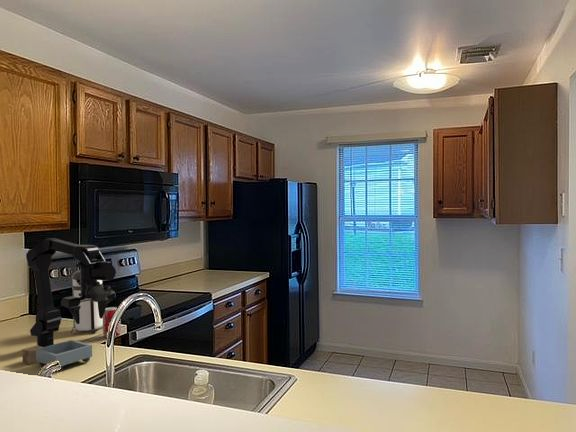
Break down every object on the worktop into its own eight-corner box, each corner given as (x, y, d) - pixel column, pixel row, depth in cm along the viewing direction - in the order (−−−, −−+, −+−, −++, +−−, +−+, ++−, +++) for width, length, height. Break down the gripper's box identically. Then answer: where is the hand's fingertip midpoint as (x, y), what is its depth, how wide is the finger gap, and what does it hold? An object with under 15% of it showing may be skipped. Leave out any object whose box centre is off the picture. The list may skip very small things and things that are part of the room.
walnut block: (22, 362, 159) (22, 348, 159) (36, 358, 163) (36, 345, 163) (29, 365, 156) (29, 351, 156) (44, 361, 160) (43, 347, 160)
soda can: (114, 339, 186) (114, 310, 185) (99, 338, 187) (98, 310, 187) (124, 334, 192) (123, 306, 192) (109, 333, 194) (108, 306, 194)
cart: (36, 365, 155) (35, 349, 155) (72, 355, 166) (71, 339, 165) (56, 373, 147) (55, 355, 147) (92, 361, 158) (92, 345, 158)
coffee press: (113, 331, 198) (111, 263, 197) (73, 337, 189) (71, 267, 188) (104, 323, 212) (102, 260, 212) (67, 328, 203) (65, 263, 203)
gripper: (77, 285, 153) (78, 330, 153) (124, 277, 168) (125, 318, 169) (59, 282, 159) (60, 325, 159) (106, 275, 175) (107, 314, 175)
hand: (89, 321), depth 165 cm, fingers open, 9 cm apart
